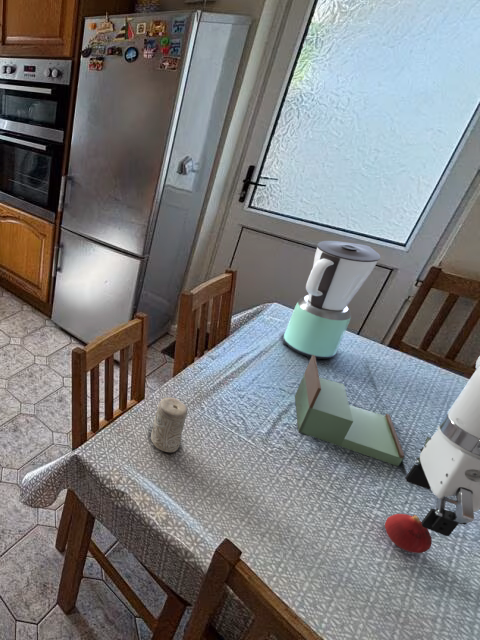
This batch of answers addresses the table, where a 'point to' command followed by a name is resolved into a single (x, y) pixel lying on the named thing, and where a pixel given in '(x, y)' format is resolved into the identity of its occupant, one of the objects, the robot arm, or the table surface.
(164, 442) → the carving
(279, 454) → the table surface
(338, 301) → the juicer
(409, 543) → the onion
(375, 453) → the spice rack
